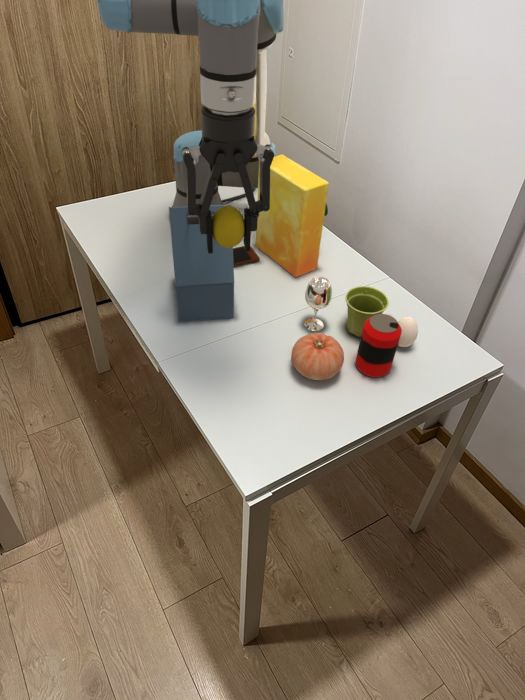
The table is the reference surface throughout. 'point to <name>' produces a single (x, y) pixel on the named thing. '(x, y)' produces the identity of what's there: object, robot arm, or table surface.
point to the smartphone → (244, 256)
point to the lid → (197, 251)
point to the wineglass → (317, 300)
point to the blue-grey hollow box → (205, 302)
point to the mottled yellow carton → (292, 216)
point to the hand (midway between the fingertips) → (228, 247)
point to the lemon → (228, 226)
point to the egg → (407, 331)
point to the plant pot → (363, 306)
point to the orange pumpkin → (317, 356)
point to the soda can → (378, 345)
